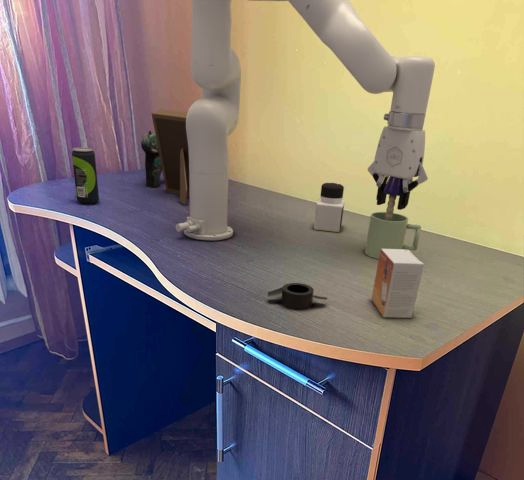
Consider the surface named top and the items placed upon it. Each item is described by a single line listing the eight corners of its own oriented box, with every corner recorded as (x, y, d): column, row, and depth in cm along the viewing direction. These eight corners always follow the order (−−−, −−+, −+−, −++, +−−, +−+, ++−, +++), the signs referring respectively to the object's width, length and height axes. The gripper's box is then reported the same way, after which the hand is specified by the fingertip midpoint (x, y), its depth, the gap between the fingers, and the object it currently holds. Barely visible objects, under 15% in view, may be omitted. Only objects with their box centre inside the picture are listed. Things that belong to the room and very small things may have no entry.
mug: (365, 257, 123) (371, 219, 119) (364, 247, 131) (370, 210, 126) (416, 263, 122) (424, 224, 117) (413, 252, 129) (420, 215, 125)
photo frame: (174, 189, 175) (172, 108, 163) (226, 200, 166) (228, 115, 154) (144, 196, 164) (139, 110, 152) (197, 208, 154) (197, 117, 142)
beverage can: (102, 204, 153) (97, 150, 145) (81, 205, 149) (75, 151, 142) (95, 199, 157) (90, 147, 150) (74, 201, 154) (68, 147, 146)
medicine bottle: (339, 232, 141) (345, 187, 135) (313, 229, 142) (318, 184, 136) (341, 226, 147) (347, 182, 141) (316, 223, 148) (321, 180, 142)
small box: (370, 300, 100) (379, 247, 95) (398, 300, 101) (409, 248, 96) (382, 318, 93) (393, 262, 88) (412, 318, 94) (424, 263, 89)
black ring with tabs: (285, 290, 102) (286, 276, 101) (329, 304, 97) (331, 290, 96) (263, 301, 97) (264, 287, 95) (308, 317, 92) (310, 302, 90)
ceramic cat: (152, 188, 174) (149, 124, 164) (138, 185, 177) (135, 122, 167) (190, 181, 189) (190, 121, 179) (177, 178, 192) (176, 119, 182)
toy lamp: (395, 245, 126) (408, 175, 118) (391, 250, 123) (404, 178, 115) (376, 242, 128) (387, 172, 120) (371, 247, 124) (383, 175, 116)
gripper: (363, 118, 114) (351, 201, 123) (436, 127, 105) (417, 216, 114) (379, 117, 119) (367, 197, 128) (450, 125, 110) (431, 211, 119)
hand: (391, 205), depth 121 cm, fingers closed on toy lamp, 4 cm apart
